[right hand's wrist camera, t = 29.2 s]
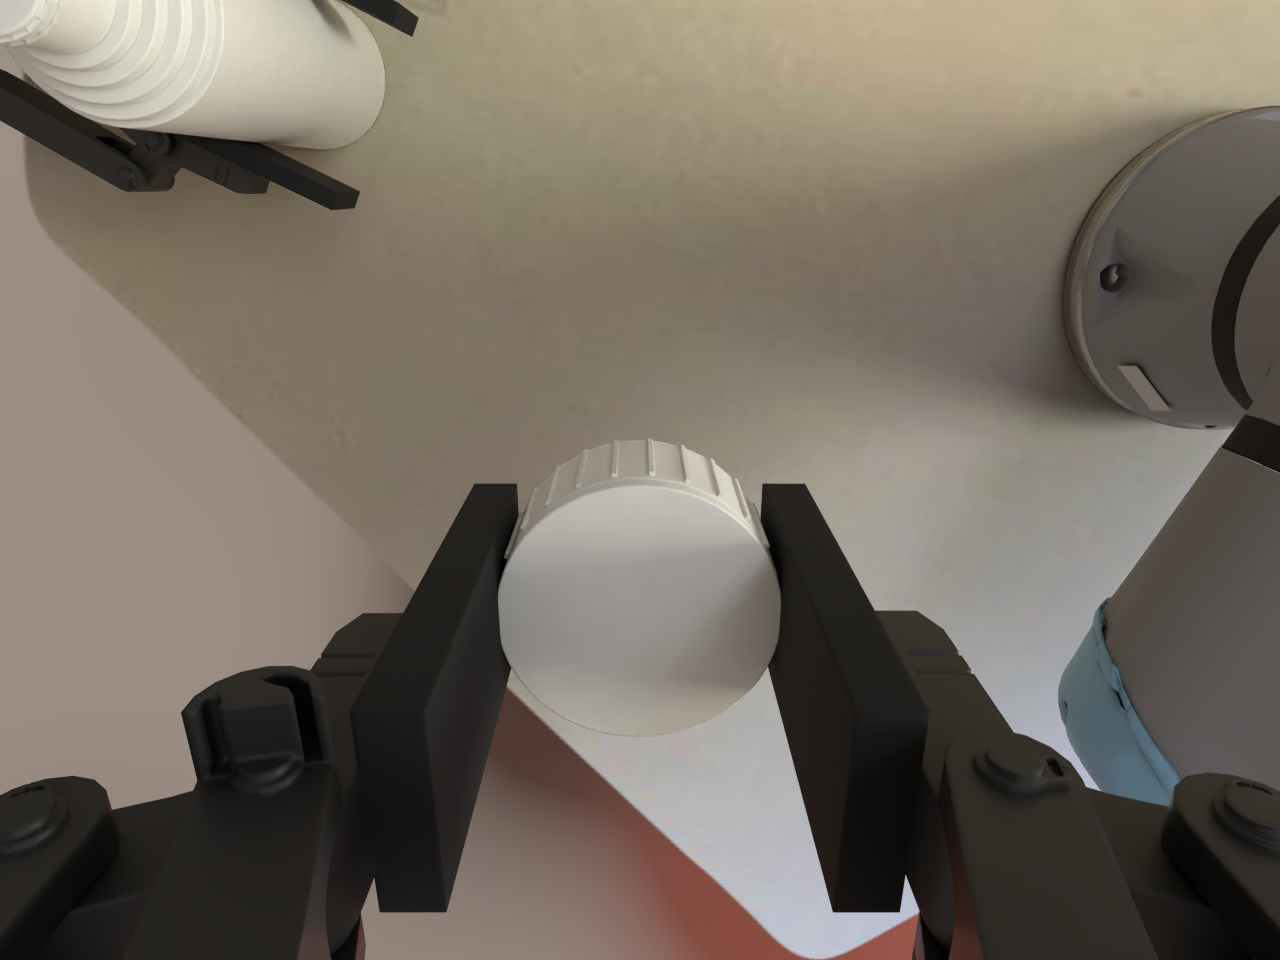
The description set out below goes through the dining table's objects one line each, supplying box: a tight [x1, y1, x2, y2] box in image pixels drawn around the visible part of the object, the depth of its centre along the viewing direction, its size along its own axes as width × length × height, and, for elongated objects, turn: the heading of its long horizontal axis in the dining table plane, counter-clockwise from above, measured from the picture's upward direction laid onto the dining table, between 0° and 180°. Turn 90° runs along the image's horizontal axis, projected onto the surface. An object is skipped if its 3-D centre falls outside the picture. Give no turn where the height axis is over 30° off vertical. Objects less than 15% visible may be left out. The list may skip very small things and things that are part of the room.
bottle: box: [0, 0, 385, 150], centre depth 28 cm, size 7×7×20 cm
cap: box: [498, 438, 781, 737], centre depth 13 cm, size 5×5×2 cm
